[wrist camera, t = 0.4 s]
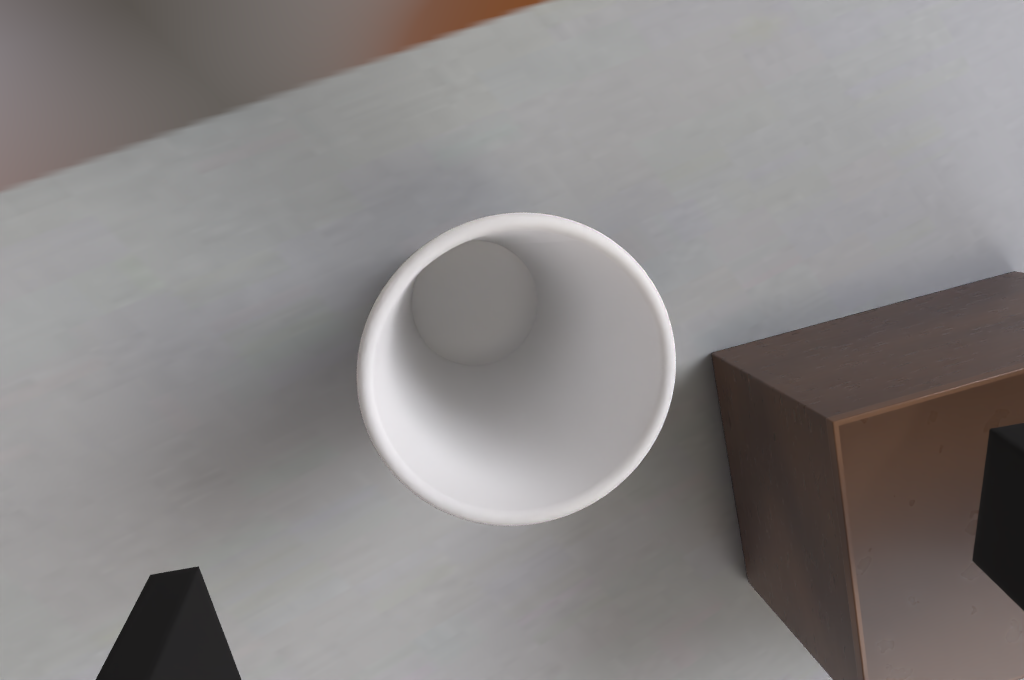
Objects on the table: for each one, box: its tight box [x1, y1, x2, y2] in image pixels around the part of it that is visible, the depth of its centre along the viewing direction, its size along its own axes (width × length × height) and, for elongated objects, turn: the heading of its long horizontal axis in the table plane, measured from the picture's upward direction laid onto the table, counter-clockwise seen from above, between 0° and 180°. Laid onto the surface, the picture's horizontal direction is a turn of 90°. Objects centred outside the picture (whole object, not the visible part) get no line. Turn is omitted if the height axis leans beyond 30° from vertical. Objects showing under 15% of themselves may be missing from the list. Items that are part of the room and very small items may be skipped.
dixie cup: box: [357, 212, 676, 526], centre depth 23 cm, size 8×8×11 cm
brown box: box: [712, 271, 1024, 680], centre depth 28 cm, size 11×14×9 cm
